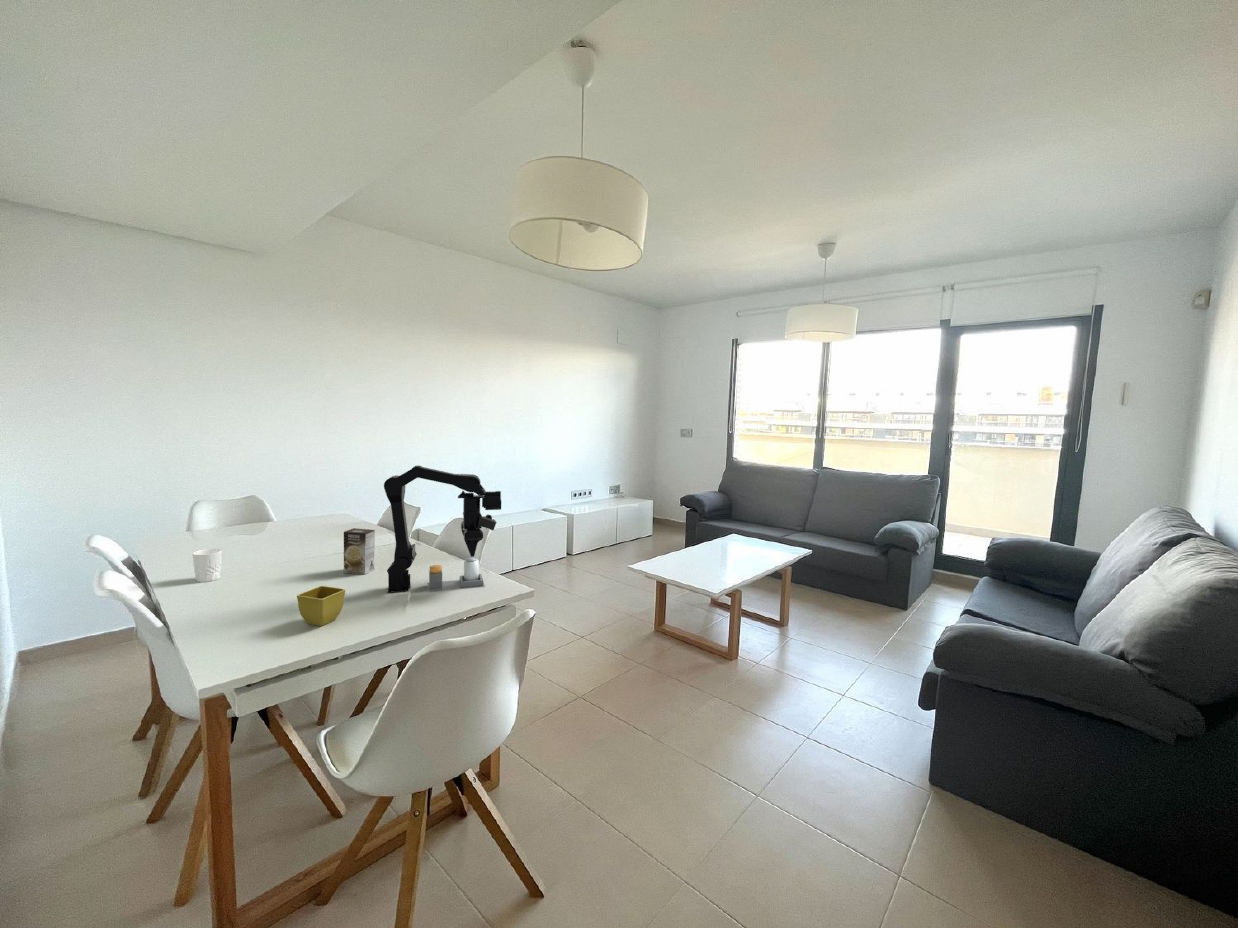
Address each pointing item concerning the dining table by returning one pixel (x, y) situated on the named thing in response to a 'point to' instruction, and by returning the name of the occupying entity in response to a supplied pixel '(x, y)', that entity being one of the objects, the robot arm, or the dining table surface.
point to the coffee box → (359, 551)
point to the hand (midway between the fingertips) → (471, 553)
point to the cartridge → (471, 569)
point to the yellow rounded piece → (435, 569)
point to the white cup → (207, 564)
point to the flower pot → (321, 604)
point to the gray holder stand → (451, 583)
